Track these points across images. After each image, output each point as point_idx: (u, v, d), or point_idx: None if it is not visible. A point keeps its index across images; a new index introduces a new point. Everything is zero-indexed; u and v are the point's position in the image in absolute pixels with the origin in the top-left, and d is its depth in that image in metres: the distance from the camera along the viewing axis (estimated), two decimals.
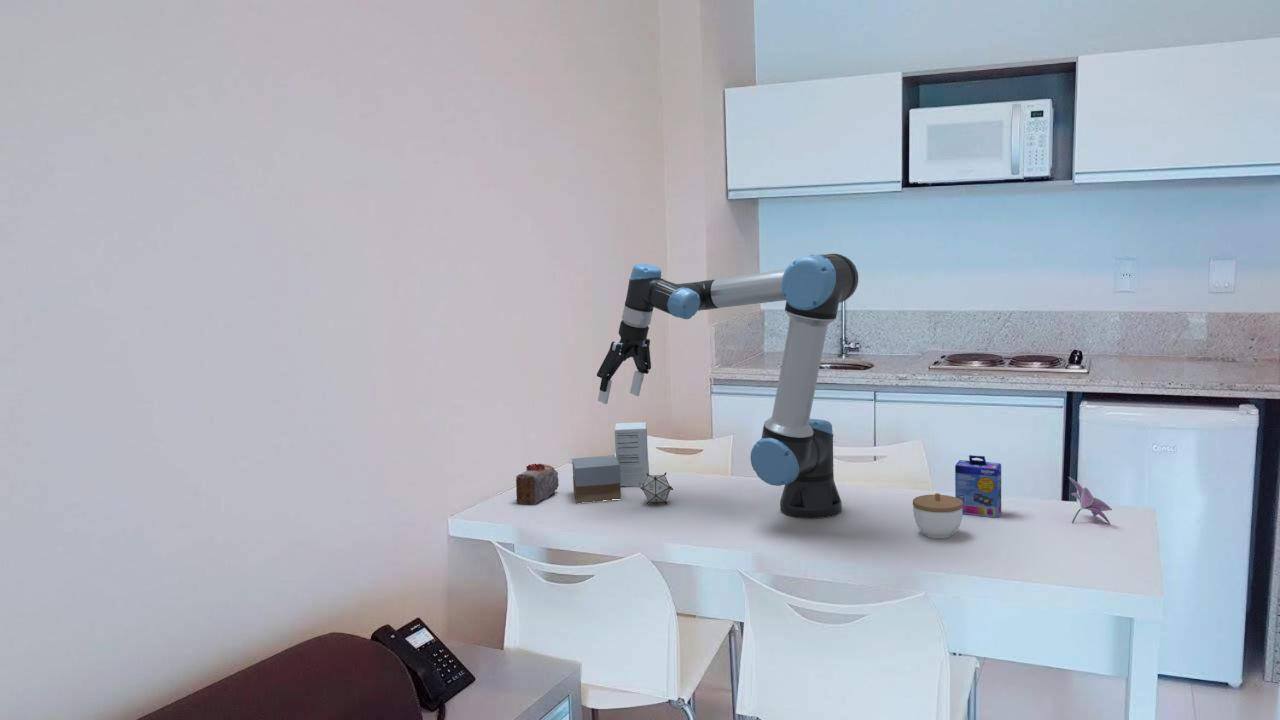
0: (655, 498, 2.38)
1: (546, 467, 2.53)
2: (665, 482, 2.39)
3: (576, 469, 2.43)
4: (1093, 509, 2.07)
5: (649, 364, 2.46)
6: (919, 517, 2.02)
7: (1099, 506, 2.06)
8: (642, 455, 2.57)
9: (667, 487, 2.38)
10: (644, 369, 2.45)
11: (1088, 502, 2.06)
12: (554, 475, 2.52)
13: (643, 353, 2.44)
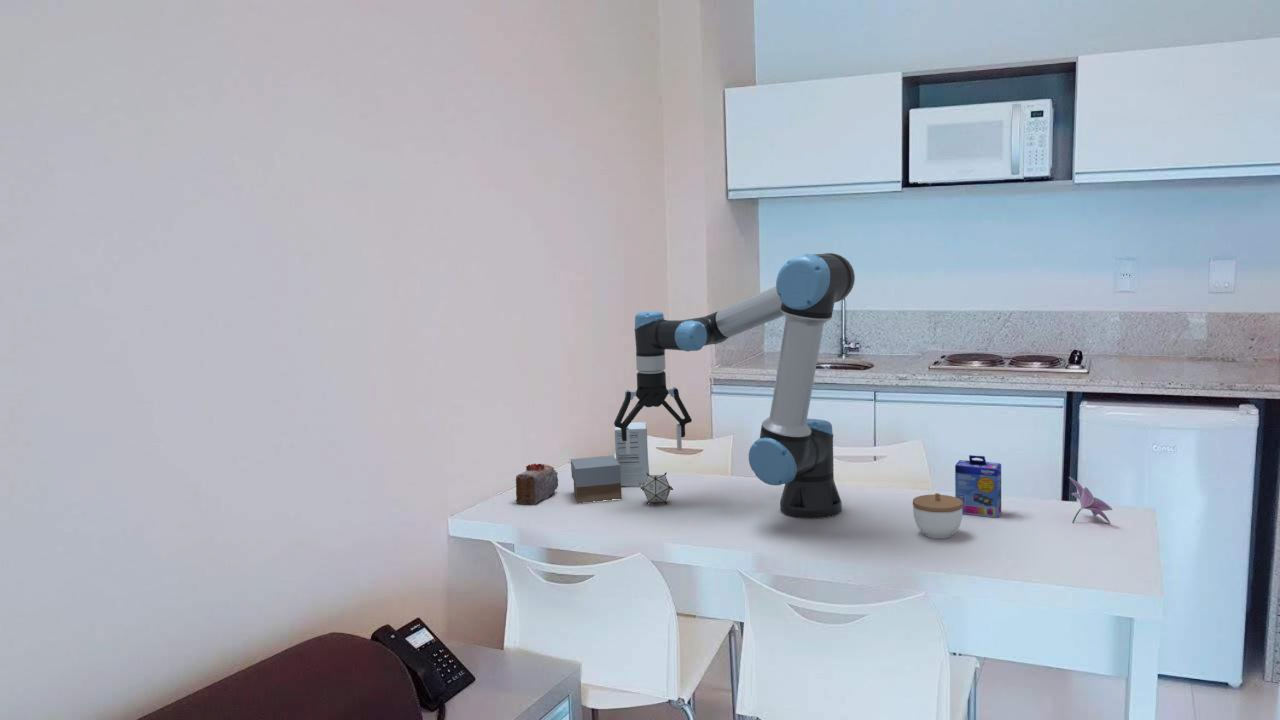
0: (655, 498, 2.38)
1: (546, 467, 2.53)
2: (666, 482, 2.39)
3: (576, 470, 2.42)
4: (1093, 509, 2.07)
5: (687, 416, 2.38)
6: (919, 517, 2.02)
7: (1099, 506, 2.06)
8: (642, 455, 2.57)
9: (667, 487, 2.38)
10: (680, 421, 2.38)
11: (1088, 502, 2.07)
12: (554, 475, 2.52)
13: (678, 405, 2.39)
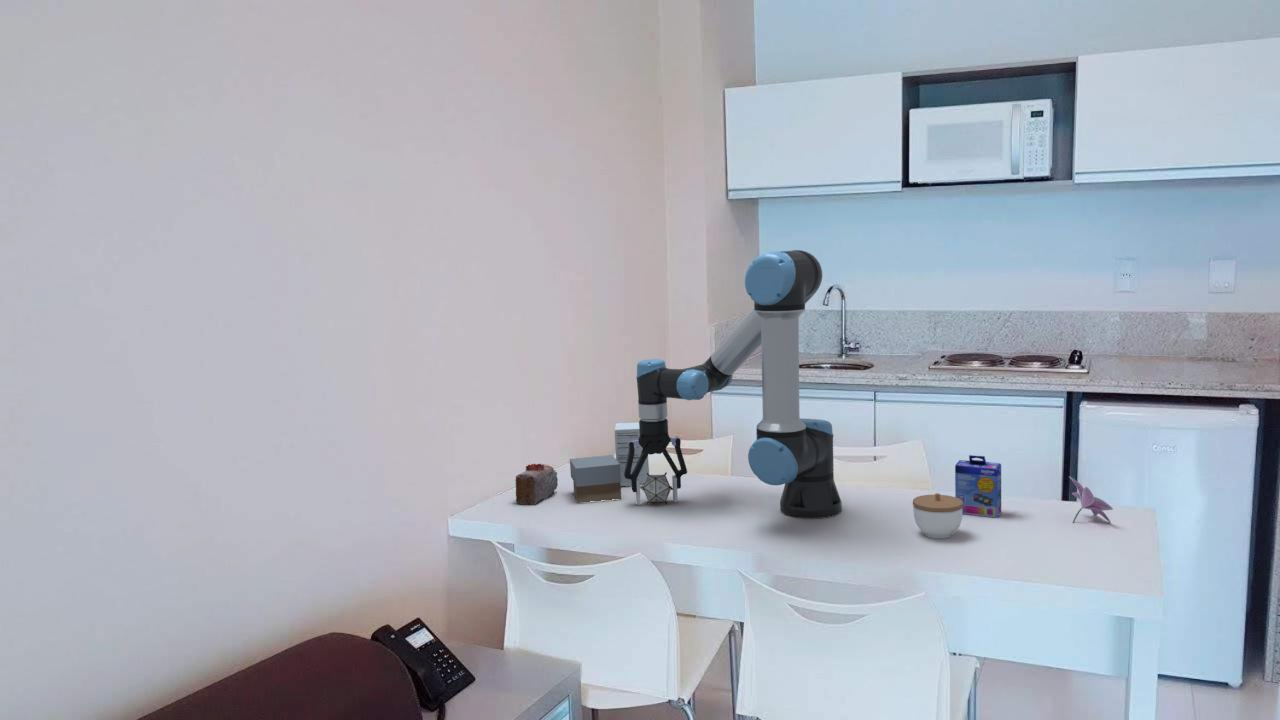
0: (655, 498, 2.38)
1: (545, 467, 2.53)
2: (666, 481, 2.39)
3: (577, 469, 2.43)
4: (1094, 509, 2.07)
5: (683, 467, 2.39)
6: (919, 517, 2.02)
7: (1100, 506, 2.06)
8: None
9: (667, 487, 2.38)
10: (676, 472, 2.39)
11: (1089, 502, 2.07)
12: (553, 475, 2.52)
13: (677, 455, 2.40)
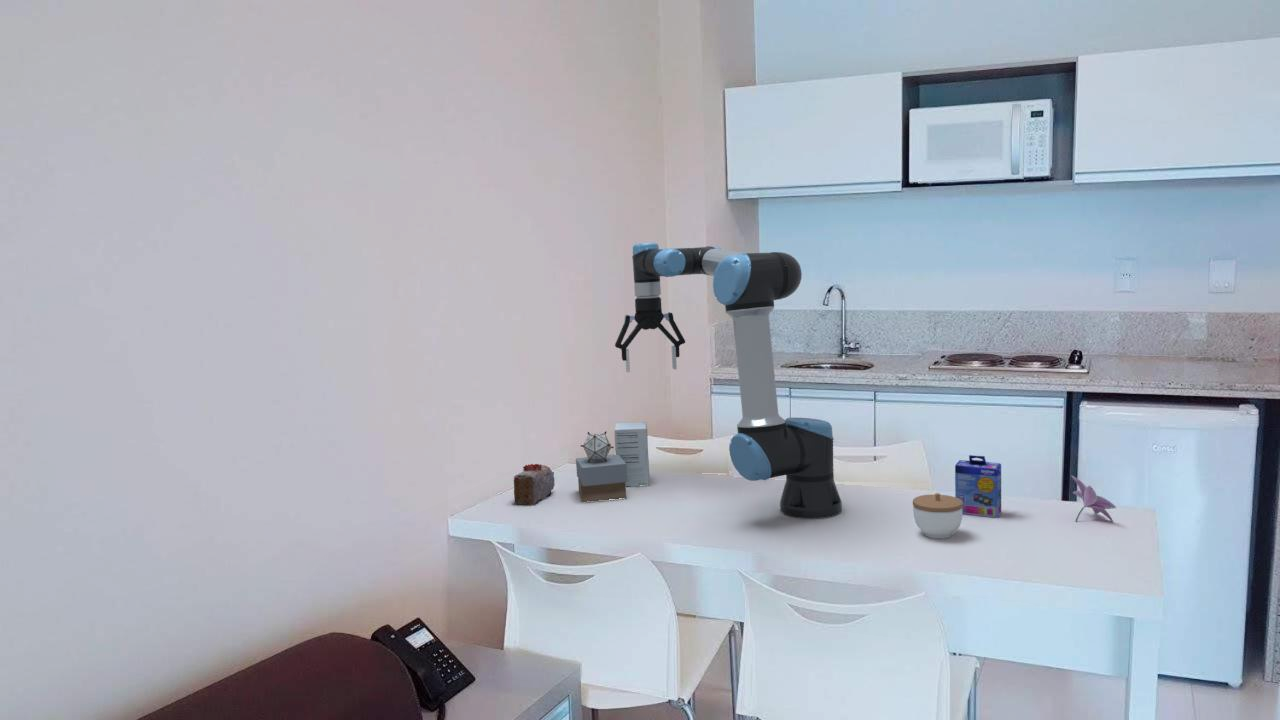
0: (595, 455, 2.47)
1: (542, 467, 2.53)
2: (605, 440, 2.48)
3: (583, 469, 2.43)
4: (1096, 507, 2.08)
5: (681, 338, 2.63)
6: (919, 517, 2.02)
7: (1102, 504, 2.07)
8: (641, 455, 2.57)
9: (606, 445, 2.47)
10: (675, 342, 2.63)
11: (1091, 500, 2.08)
12: (551, 475, 2.53)
13: (673, 328, 2.63)
